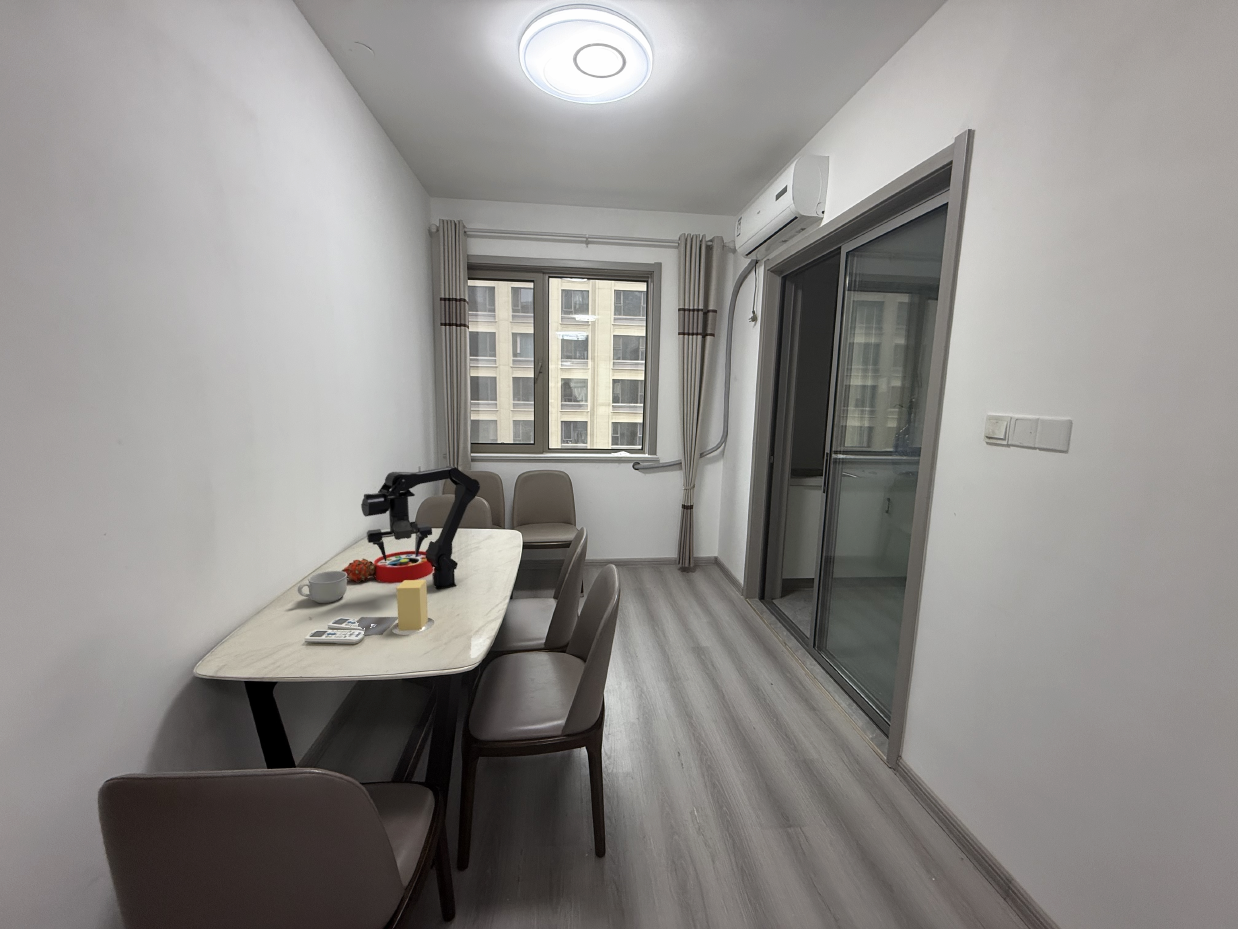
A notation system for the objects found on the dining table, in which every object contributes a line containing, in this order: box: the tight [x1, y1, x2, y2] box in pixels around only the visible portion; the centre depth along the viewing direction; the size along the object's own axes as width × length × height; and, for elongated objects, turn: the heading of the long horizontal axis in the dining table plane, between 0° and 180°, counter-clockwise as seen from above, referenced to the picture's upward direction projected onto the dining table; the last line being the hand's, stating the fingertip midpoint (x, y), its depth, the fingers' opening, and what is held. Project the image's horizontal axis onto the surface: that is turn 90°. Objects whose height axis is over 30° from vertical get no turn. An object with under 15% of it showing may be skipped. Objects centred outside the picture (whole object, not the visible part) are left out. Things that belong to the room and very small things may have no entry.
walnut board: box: [349, 616, 398, 636], centre depth 134 cm, size 24×16×1 cm, turn 91°
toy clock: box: [373, 550, 434, 584], centre depth 179 cm, size 20×6×20 cm
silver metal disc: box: [391, 617, 435, 636], centre depth 134 cm, size 11×11×4 cm
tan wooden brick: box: [396, 579, 429, 631], centre depth 134 cm, size 6×6×12 cm
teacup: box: [297, 570, 348, 604], centre depth 153 cm, size 14×11×8 cm
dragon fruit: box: [341, 557, 376, 584], centre depth 171 cm, size 8×8×12 cm
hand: (401, 558), depth 155 cm, fingers open, 9 cm apart
